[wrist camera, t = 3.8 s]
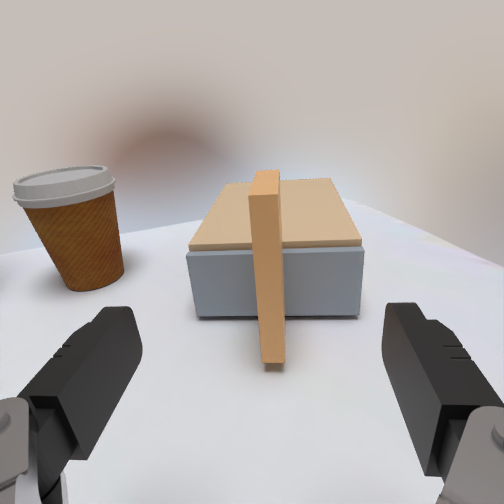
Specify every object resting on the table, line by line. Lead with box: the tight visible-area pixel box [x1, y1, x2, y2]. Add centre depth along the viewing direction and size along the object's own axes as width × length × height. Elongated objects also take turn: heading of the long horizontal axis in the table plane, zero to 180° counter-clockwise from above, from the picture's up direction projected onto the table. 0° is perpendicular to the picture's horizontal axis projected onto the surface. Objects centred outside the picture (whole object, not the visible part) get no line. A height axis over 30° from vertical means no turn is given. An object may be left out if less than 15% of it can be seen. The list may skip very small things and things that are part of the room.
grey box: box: [186, 170, 364, 363], centre depth 32 cm, size 26×14×12 cm, turn 175°
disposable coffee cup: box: [12, 165, 124, 291], centre depth 36 cm, size 10×10×12 cm
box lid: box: [189, 178, 362, 252], centre depth 37 cm, size 20×14×7 cm
